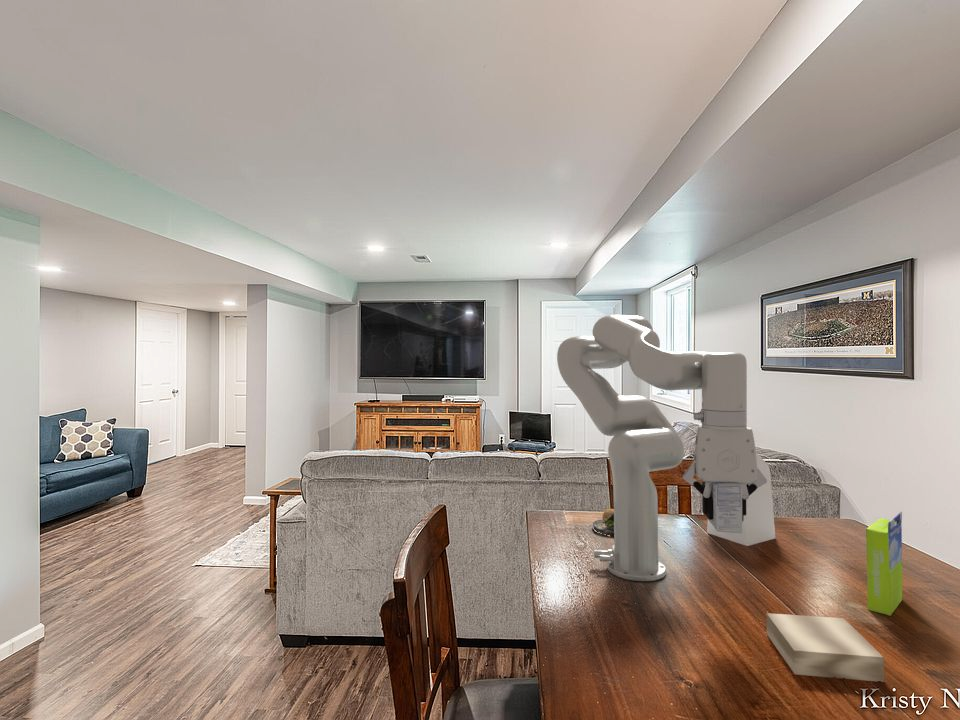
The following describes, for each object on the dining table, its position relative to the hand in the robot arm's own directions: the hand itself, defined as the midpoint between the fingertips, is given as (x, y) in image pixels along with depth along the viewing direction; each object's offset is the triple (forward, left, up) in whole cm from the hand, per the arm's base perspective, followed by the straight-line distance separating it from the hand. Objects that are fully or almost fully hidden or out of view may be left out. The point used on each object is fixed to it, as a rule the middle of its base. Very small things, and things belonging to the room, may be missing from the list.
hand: (723, 517), depth 98 cm
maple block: (+11, -11, -19) cm, 25 cm away
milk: (+16, +49, -19) cm, 55 cm away
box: (+31, +10, -19) cm, 38 cm away
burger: (-17, +49, -19) cm, 55 cm away
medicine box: (0, 0, -2) cm, 2 cm away
